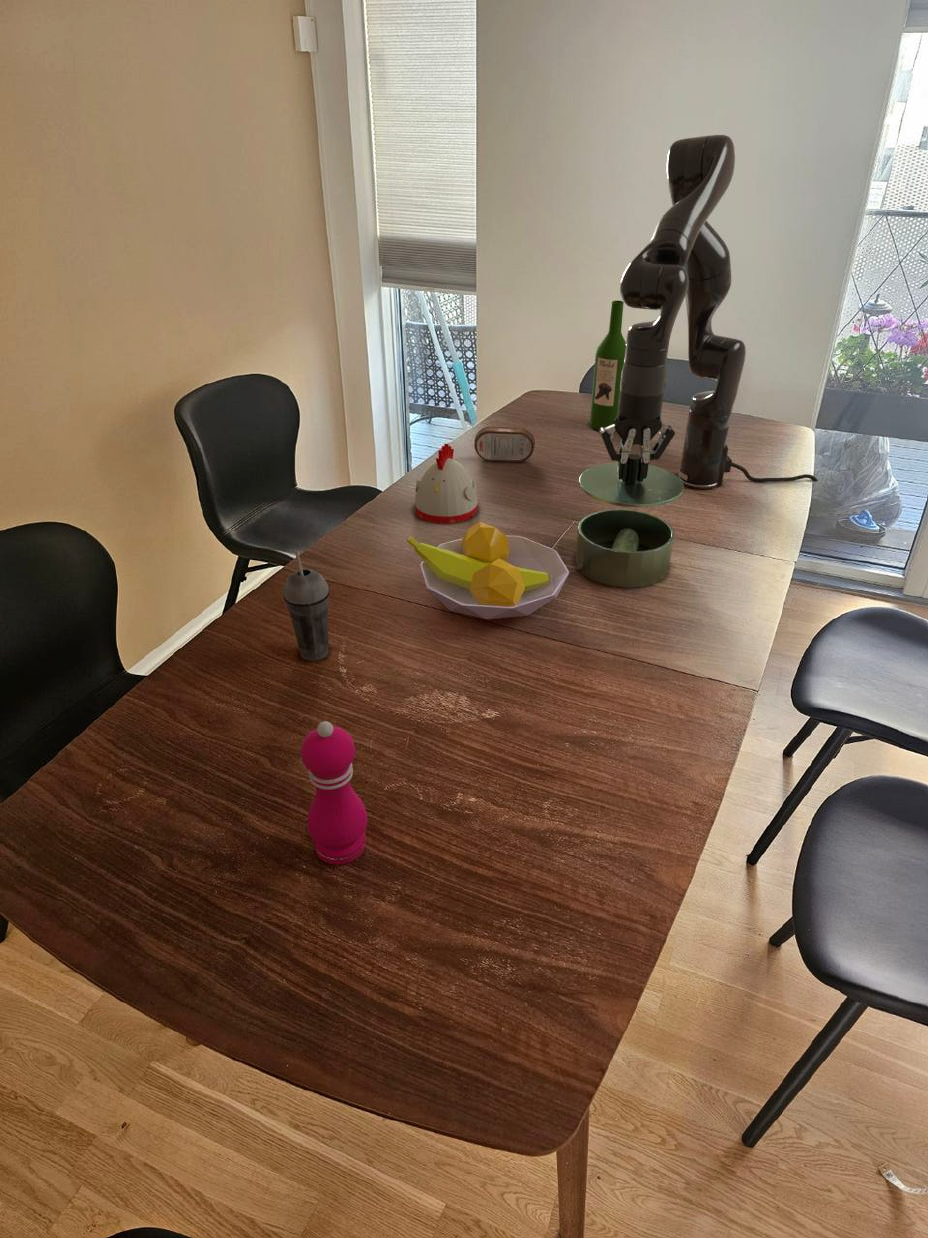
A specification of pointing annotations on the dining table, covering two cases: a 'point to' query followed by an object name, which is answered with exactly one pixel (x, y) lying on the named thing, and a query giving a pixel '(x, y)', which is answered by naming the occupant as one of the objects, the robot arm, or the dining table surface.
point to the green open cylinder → (623, 564)
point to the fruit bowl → (491, 573)
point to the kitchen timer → (445, 491)
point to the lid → (631, 484)
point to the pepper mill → (333, 795)
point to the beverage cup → (308, 611)
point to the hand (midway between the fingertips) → (631, 479)
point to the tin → (504, 444)
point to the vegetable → (626, 541)
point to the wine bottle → (608, 372)
